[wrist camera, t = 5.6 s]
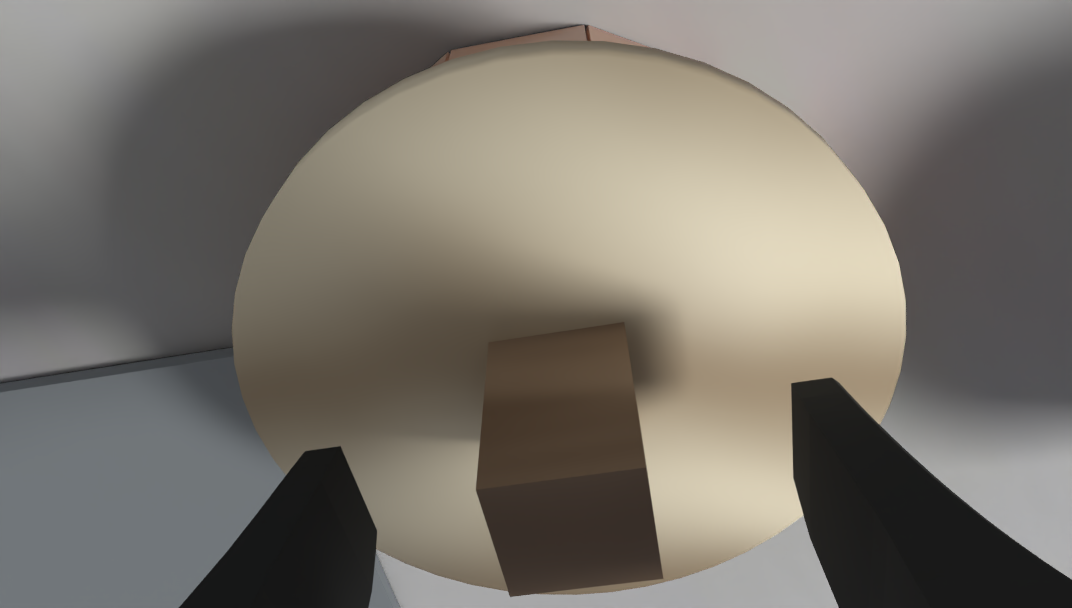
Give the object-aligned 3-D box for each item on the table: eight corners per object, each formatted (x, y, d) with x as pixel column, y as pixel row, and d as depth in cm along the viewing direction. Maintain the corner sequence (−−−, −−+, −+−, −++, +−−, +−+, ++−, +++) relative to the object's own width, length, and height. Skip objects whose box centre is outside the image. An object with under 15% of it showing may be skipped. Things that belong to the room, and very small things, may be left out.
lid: (876, 530, 18) (958, 718, 15) (358, 592, 20) (318, 779, 16) (910, -31, 12) (1072, 60, 8) (130, 116, 13) (-26, 251, 9)
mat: (413, 638, 26) (412, 649, 26) (67, 677, 28) (62, 688, 27) (281, 339, 20) (276, 349, 19) (-164, 409, 21) (-176, 419, 21)
